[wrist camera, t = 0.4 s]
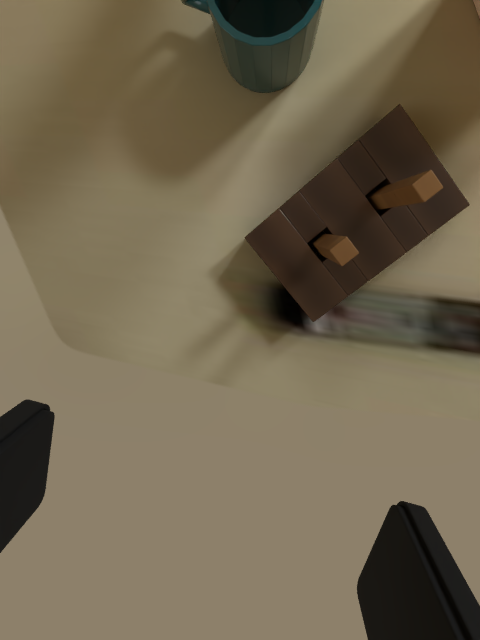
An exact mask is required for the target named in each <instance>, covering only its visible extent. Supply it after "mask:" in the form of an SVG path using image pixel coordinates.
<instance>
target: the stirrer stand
mask: <svg viewBox="0 0 480 640" xmlns="http://www.w3.org/2000/svg"><path fill="white" fill-rule="evenodd" d="M428 170H432V171H433V173H434V174H435V176H436V177H437V178H438V180H439V181H440V183H441V184H442V186H443V189H441V190H440V191H439V192H437V193H436V194H435V195H434V196H432V197H431V198H430V199H428V200H427V201H426V202H423V203H417V204H411V205H404V206H398V207H392V208H386V209H379V210H377V211H376V210H375V209H374V208H373V206H372V205H371V204H370V202H369V201H368V200H367V198H366V197H365V195H367V194H368V193H369V192H370V191H372V190H373V189H374V188H375V187H377V188H381V187H383V186H386V185H389V184H392V183H395V182H397V181H400V180H403V179H406V178H409V177H412V176H414V175H417V174H420V173H423V172H426V171H428ZM467 206H469V203H468V201H467V200H466V199H465V197H464V196H463V194H462V193H461V191H460V190H459V188H458V187H457V186H456V184H455V183H454V181H453V180H452V178H451V177H450V175H449V174H448V173H447V171H446V170H445V168H444V167H443V165H442V164H441V162H440V161H439V159H438V158H437V157H436V155H435V154H434V152H433V151H432V149H431V148H430V146H429V145H428V144H427V142H426V141H425V139H424V138H423V136H422V135H421V133H420V132H419V131H418V129H417V128H416V126H415V125H414V123H413V122H412V120H411V119H410V118H409V116H408V115H407V113H406V112H405V110H404V109H403V107H402V106H401V105H400V104H399V105H398V106H397V107H396V108H394V109H393V110H392V111H391V112H390V113H389V114H387V115H386V116H385V117H384V118H383V119H382V120H380V121H379V122H378V123H377V124H376V125H375V126H373V127H372V128H371V129H370V130H369V131H368V132H367V133H365V134H364V135H363V136H362V137H361V138H360V139H359V140H357V141H356V142H355V143H354V144H353V145H351V146H350V147H349V148H348V149H347V150H346V151H344V152H343V153H342V154H341V155H340V156H339V157H338V158H336V159H335V160H334V161H333V162H332V163H331V164H329V165H328V166H327V167H326V168H325V169H324V170H322V171H321V172H320V173H319V174H318V175H317V176H315V177H314V178H313V179H312V180H311V181H310V182H308V183H307V184H306V185H305V186H304V187H303V188H301V189H300V190H299V191H298V192H297V193H296V194H295V195H293V196H292V197H291V198H290V199H289V200H288V201H286V202H285V203H284V204H283V205H282V206H281V207H280V208H278V209H277V210H276V211H275V212H274V213H272V214H271V215H270V216H269V217H268V218H267V219H266V220H264V221H263V222H262V223H261V224H260V225H259V226H257V227H256V228H255V229H254V230H253V231H252V232H250V233H249V234H248V235H247V236H246V237H245V239H246V240H247V242H248V243H249V244H250V245H251V246H252V248H253V249H254V250H255V251H256V253H257V254H258V255H259V256H260V257H261V259H262V260H263V261H264V262H265V264H266V265H267V266H268V267H269V269H270V270H271V271H272V272H273V273H274V275H275V276H276V277H277V278H278V280H279V281H280V282H281V283H282V284H283V286H284V287H285V288H286V289H287V291H288V292H289V293H290V294H291V296H292V297H293V298H294V299H295V300H296V302H297V303H298V304H299V305H300V307H301V308H302V309H303V310H304V311H305V313H306V314H307V315H308V316H309V318H310V319H311V320H312V321H313V322H314V321H316V320H317V319H318V318H320V317H321V316H322V315H324V314H325V313H326V312H328V311H329V310H330V309H332V308H333V307H334V306H336V305H337V304H338V303H340V302H341V301H342V300H344V299H345V298H346V297H348V296H349V295H350V294H352V293H353V292H354V291H356V290H357V289H358V288H360V287H361V286H362V285H364V284H365V283H366V282H367V281H369V280H370V279H372V278H373V277H374V276H376V275H377V274H378V273H380V272H381V271H382V270H384V269H385V268H386V267H388V266H389V265H390V264H392V263H393V262H394V261H396V260H397V259H398V258H400V257H401V256H402V255H404V254H405V253H406V252H407V251H409V250H410V249H411V248H413V247H414V246H415V245H417V244H418V243H419V242H421V241H422V240H423V239H425V238H426V237H427V236H428V235H430V234H431V233H433V232H434V231H435V230H437V229H438V228H439V227H441V226H442V225H443V224H445V223H446V222H447V221H449V220H450V219H451V218H453V217H454V216H455V215H457V214H458V213H459V212H461V211H462V210H463V209H465V208H466V207H467ZM323 230H324V232H325V233H326V234H330V235H338V236H346V237H348V239H349V240H350V241H351V242H352V244H353V245H354V246H355V248H356V249H357V250H358V252H359V254H358V255H356V256H355V257H354V258H353V259H351V260H350V261H349V262H347V263H346V264H345V265H344V266H340V265H339V264H337V263H335V262H333V261H331V260H330V259H328V258H326V257H324V256H322V255H321V256H319V257H317V256H316V254H315V253H314V252H313V250H312V249H311V248H310V247H309V245H308V244H307V243H308V242H309V241H310V240H312V239H313V238H314V237H315V236H317V235H318V234H319V233H320V232H321V231H323Z"/></svg>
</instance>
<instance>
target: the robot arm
mask: <svg viewBox="0 0 480 640" xmlns="http://www.w3.org/2000/svg"><path fill="white" fill-rule="evenodd" d="M53 425H54V413H53V412H51V411H50V407H49V406H48V405H47V404H43V403H39V402H36V401H32V400H24V401H22V402H21V403H20V404H18V405H17V406H15V407H14V408H12V409H11V410H10V411H8V412H7V413H5V414H4V415H3V416H1V417H0V553H1V551H2V550H3V549H4V548H5V547H6V545H7V544H8V543H9V542H10V541H11V539H12V538H13V537H14V536H15V535H16V533H17V532H18V531H19V530H20V528H21V527H22V526H23V525H24V524H25V522H26V521H27V520H28V519H29V518H30V516H31V515H32V514H33V513H34V512H35V510H36V509H37V508H38V507H39V505H40V503H41V502H42V500H43V497H44V494H45V489H46V481H47V473H48V465H49V456H50V449H51V448H50V447H51V441H52V433H53ZM357 594H358V599H359V604H360V608H361V612H362V616H363V620H364V625H365V629H366V633H367V637H368V640H480V606H479V604H478V602H477V600H476V599H475V597H474V595H473V593H472V591H471V590H470V588H469V586H468V584H467V582H466V580H465V579H464V577H463V575H462V573H461V571H460V570H459V568H458V566H457V564H456V563H455V561H454V559H453V557H452V555H451V553H450V552H449V550H448V548H447V546H446V545H445V542H444V541H443V539H442V537H441V535H440V533H439V532H438V530H437V528H436V526H435V524H434V523H433V521H432V519H431V517H430V515H429V513H428V512H427V510H426V509H425V508H424V507H422V506H418V505H415V504H411V503H408V502H404V501H400V502H399V503H398V504H397V505H392V506H391V508H390V509H389V511H388V514H387V516H386V518H385V520H384V522H383V525H382V527H381V529H380V532H379V534H378V536H377V538H376V540H375V543H374V545H373V547H372V550H371V552H370V554H369V556H368V559H367V561H366V563H365V565H364V568H363V570H362V572H361V575H360V577H359V579H358V584H357Z"/></svg>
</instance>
